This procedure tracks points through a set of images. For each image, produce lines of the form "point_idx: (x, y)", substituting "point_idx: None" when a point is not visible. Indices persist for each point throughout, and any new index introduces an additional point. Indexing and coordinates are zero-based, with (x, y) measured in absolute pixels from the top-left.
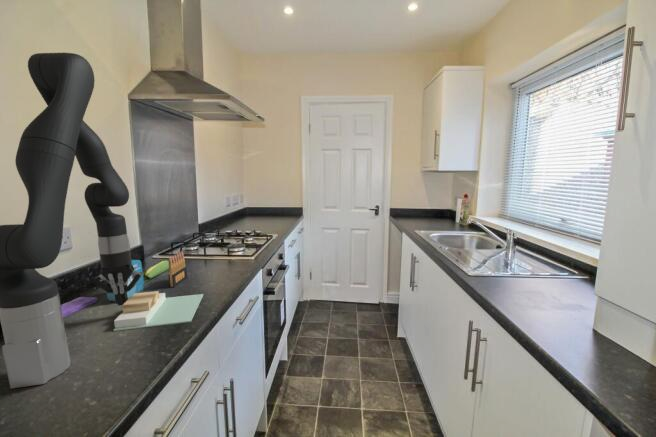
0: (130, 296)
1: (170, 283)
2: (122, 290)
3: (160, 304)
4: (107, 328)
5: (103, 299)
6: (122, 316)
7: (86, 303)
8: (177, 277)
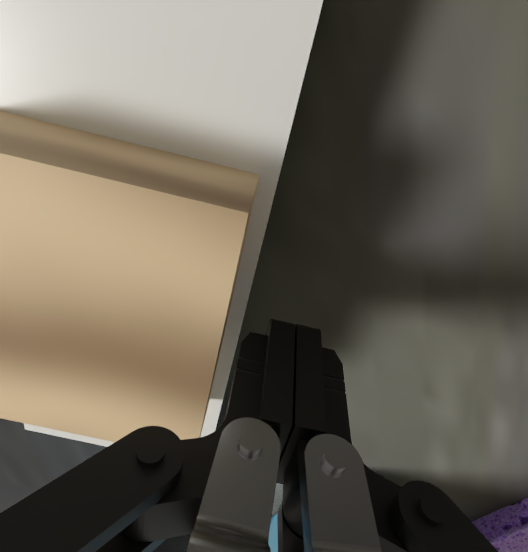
0: None
1: None
2: (238, 462)
3: None
4: (399, 59)
5: None
6: (251, 77)
7: (520, 522)
8: None
